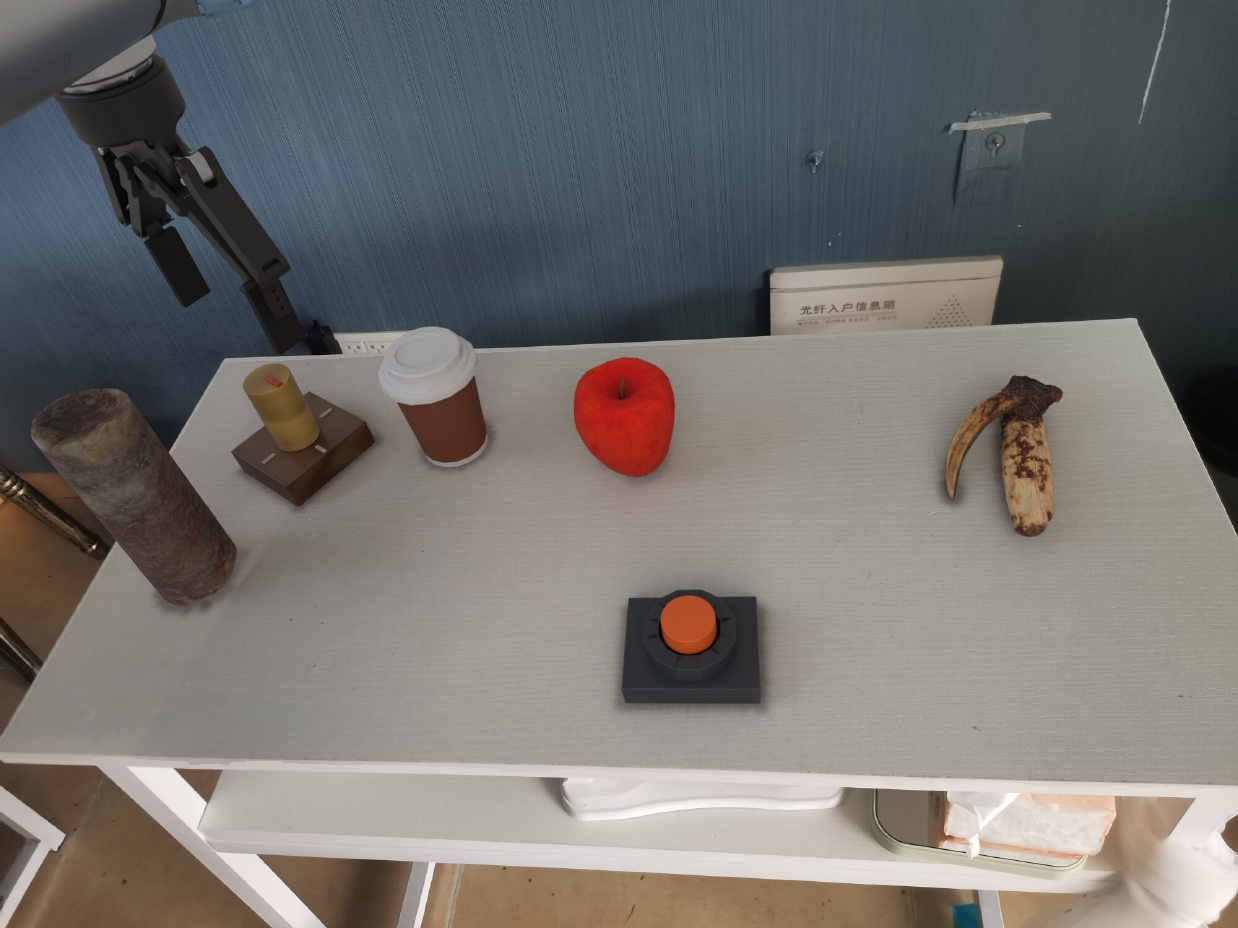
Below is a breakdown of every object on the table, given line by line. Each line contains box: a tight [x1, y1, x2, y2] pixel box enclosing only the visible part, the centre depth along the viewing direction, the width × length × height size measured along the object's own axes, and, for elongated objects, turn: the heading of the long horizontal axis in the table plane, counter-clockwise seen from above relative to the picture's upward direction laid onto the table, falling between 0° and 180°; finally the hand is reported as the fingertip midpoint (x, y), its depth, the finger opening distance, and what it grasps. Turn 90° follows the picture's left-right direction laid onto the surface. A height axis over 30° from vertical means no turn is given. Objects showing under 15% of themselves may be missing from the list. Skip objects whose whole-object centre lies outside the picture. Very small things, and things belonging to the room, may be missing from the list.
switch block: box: [621, 588, 761, 705], centre depth 67 cm, size 10×8×4 cm
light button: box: [661, 595, 717, 654], centre depth 65 cm, size 4×4×2 cm
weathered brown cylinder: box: [30, 387, 238, 607], centre depth 73 cm, size 8×7×20 cm
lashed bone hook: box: [944, 374, 1064, 538], centre depth 75 cm, size 9×5×18 cm
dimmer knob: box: [242, 362, 320, 452], centre depth 84 cm, size 4×4×8 cm
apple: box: [573, 356, 676, 478], centre depth 79 cm, size 9×9×11 cm
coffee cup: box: [377, 325, 489, 468], centre depth 83 cm, size 9×9×12 cm
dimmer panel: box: [230, 390, 376, 508], centre depth 88 cm, size 10×9×3 cm
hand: (241, 321), depth 75 cm, fingers open, 13 cm apart
